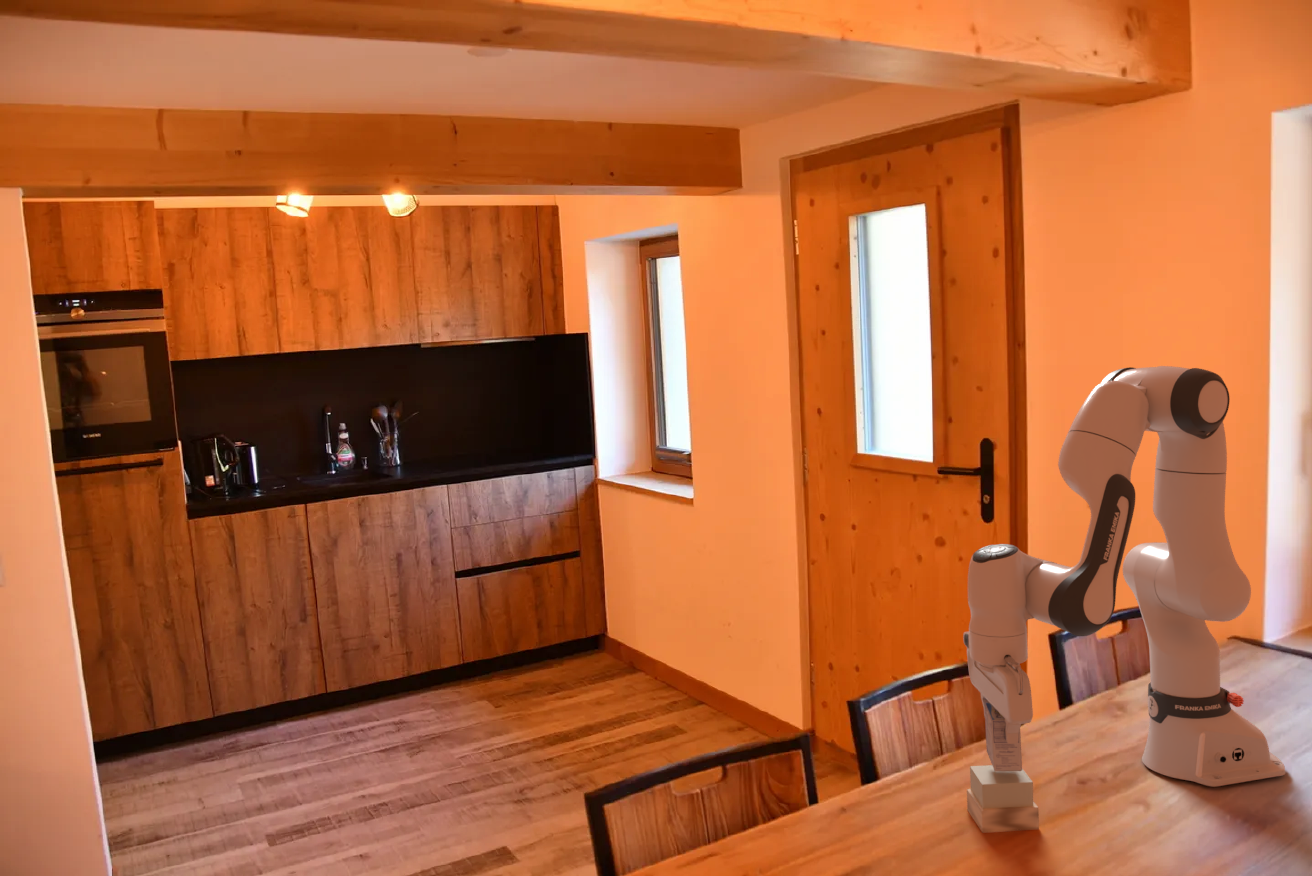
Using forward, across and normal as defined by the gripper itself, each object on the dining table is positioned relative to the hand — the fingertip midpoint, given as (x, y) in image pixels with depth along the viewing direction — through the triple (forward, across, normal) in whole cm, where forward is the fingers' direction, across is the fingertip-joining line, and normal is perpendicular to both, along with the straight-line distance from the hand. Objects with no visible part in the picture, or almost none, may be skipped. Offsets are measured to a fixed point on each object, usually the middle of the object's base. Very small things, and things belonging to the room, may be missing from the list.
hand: (1000, 730), depth 169 cm
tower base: (+15, 0, 0) cm, 15 cm away
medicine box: (+6, 0, 0) cm, 6 cm away
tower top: (+11, 0, 0) cm, 11 cm away
